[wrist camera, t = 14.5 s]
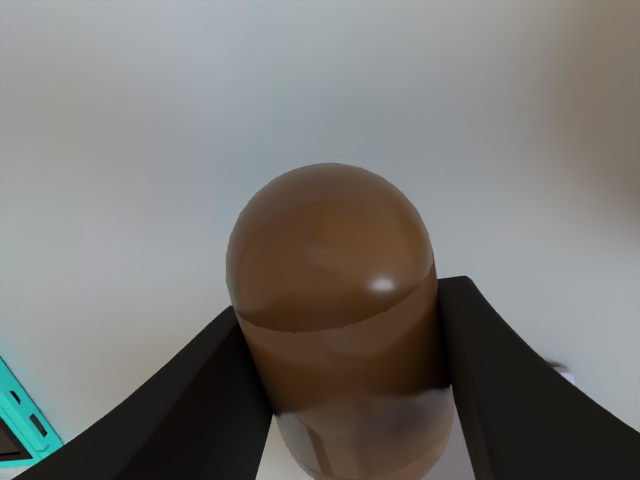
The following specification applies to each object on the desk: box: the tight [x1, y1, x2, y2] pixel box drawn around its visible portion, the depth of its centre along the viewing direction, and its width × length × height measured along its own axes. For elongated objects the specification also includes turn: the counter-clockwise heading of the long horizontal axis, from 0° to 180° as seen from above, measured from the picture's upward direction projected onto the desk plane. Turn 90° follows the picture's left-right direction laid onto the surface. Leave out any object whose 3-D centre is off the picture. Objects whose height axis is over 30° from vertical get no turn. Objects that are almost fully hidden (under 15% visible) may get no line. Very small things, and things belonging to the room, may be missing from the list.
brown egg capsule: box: [226, 163, 454, 480], centre depth 10 cm, size 8×4×4 cm, turn 13°
